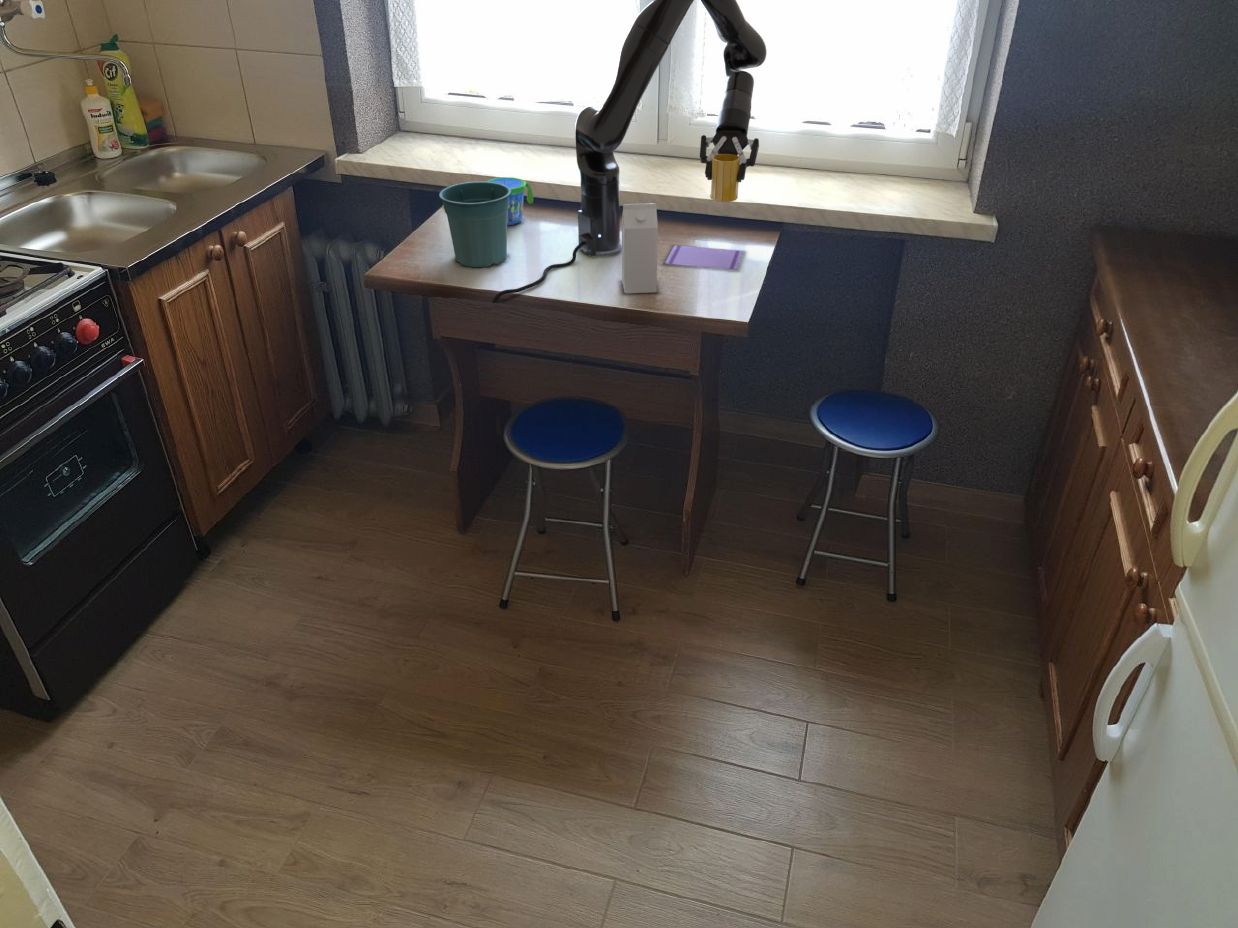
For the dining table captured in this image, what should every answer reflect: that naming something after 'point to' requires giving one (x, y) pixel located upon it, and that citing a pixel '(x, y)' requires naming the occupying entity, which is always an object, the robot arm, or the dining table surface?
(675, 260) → the cloth
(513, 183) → the snack cup
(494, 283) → the dining table surface
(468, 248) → the flower pot
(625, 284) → the milk carton
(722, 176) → the tumbler
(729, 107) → the robot arm
